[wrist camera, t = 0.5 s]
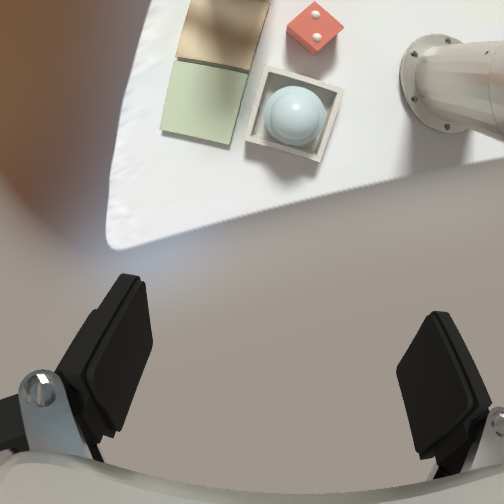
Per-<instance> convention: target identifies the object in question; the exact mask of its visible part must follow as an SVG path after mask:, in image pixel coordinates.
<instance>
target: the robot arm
mask: <svg viewBox="0 0 504 504" xmlns="http://www.w3.org/2000/svg"><path fill="white" fill-rule="evenodd" d="M445 41H446V42H445ZM411 53H412V54H413V57H412V56H411ZM400 78H401V86H402V90H403V94H404V96H405V99H406V101H407V103H408V105H409V106H410V108H411V110H412V111H413V113H414V114H415V115H416V116H417V117H418V118H419V119H420V120H421V121H422V122H423V123H425V124H426V125H428V126H429V127H431V128H433V129H435V130H438V131H441V132H445V133H458V132H462V131H465V130H467V129H471V130H473V131H476V132H479V133H481V134H484V135H486V136H489V137H491V138H493V139H496V140H498V141H500V142H503V143H504V41H488V42H472V43H462V42H461V41H459V40H458V39H455V38H453V37H451V36H448V35H444V34H430V35H426V36H423V37H421V38H418V39H417V40H416V41H414V42H413V43H412V44H411V45H410V46H409V47H408V49H407V50H406V52H405V54H404V56H403V59H402V63H401V71H400ZM412 97H413V101H412V100H411V98H412ZM444 126H445V127H444ZM152 345H153V338H152V331H151V324H150V317H149V310H148V302H147V293H146V285H145V282H144V281H141V280H140V277H139V276H135V275H130V274H124V273H123V274H121V275H120V276H119V277H118V279H117V280H116V282H115V283H114V285H113V286H112V288H111V289H110V291H109V292H108V294H107V295H106V297H105V298H104V300H103V302H102V303H101V304H100V306H99V308H98V309H95V310H93V311H92V312H91V313H90V314H89V316H88V317H87V319H86V321H85V322H84V324H83V325H82V327H81V328H80V330H79V332H78V333H77V335H76V337H75V338H74V340H73V341H72V343H71V345H70V346H69V348H68V350H67V351H66V353H65V355H64V356H63V358H62V360H61V361H60V363H59V365H58V367H57V368H56V370H55V372H52V371H50V370H44V369H42V370H36V371H34V372H32V373H29V374H28V375H27V376H26V377H25V378H24V379H23V380H22V382H21V383H20V386H19V389H18V394H16V395H13V396H10V397H7V398H4V399H1V400H0V504H504V408H503V407H495V408H493V409H492V410H491V411H489V409H488V407H489V406H490V405H491V404H492V401H491V399H490V396H489V394H488V392H487V389H486V387H485V385H484V383H483V380H482V378H481V376H480V374H479V372H478V369H477V367H476V365H475V363H474V361H473V359H472V357H471V355H470V353H469V351H468V349H467V347H466V345H465V343H464V341H463V339H462V337H461V335H460V333H459V331H458V329H457V327H456V326H455V324H454V322H453V320H452V318H451V316H450V315H449V313H447V312H440V311H433V312H431V314H430V315H428V316H426V318H425V320H424V322H423V323H422V325H421V327H420V329H419V331H418V332H417V334H416V336H415V338H414V339H413V341H412V343H411V344H410V346H409V348H408V350H407V351H406V353H405V354H404V356H403V358H402V359H401V361H400V363H399V364H398V366H397V370H396V374H397V378H398V382H399V386H400V389H401V393H402V397H403V400H404V404H405V408H406V412H407V416H408V420H409V424H410V428H411V433H412V437H413V441H414V446H415V450H416V452H417V453H419V456H420V459H421V460H423V459H429V458H433V457H434V456H435V458H436V462H435V464H434V466H433V469H432V470H431V472H430V474H429V476H428V478H427V480H426V481H425V482H420V483H415V484H410V485H404V486H398V487H391V488H385V489H376V490H368V491H357V492H345V493H328V494H327V493H326V494H280V493H261V492H247V491H237V490H228V489H220V488H213V487H206V486H199V485H194V484H189V483H183V482H178V481H174V480H169V479H164V478H160V477H155V476H150V475H146V474H143V473H139V472H135V471H131V470H127V469H124V468H120V467H117V466H114V465H110V464H107V462H106V459H105V457H104V455H103V453H102V451H101V448H100V446H99V444H98V443H100V442H101V439H102V437H103V435H105V436H108V437H111V438H114V435H115V432H116V431H118V432H120V431H121V429H122V427H123V425H124V422H125V419H126V416H127V413H128V411H129V408H130V405H131V402H132V400H133V397H134V394H135V391H136V389H137V386H138V384H139V381H140V378H141V376H142V373H143V370H144V368H145V365H146V363H147V360H148V357H149V355H150V352H151V349H152Z"/></svg>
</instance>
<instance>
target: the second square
mask: <svg viewBox="0 0 504 504" xmlns="http://www.w3.org/2000/svg"><path fill="white" fill-rule="evenodd" d="M247 78H248V74H245V73H240V72H236V71H231V70H226V69H221V68H216V67H211V66H206V65H200V64H194V63H188V62H181V61H174V63H173V68H172V72H171V76H170V81H169V85H168V90H167V94H166V99H165V104H164V109H163V114H162V119H161V124H160V130H164V131H169V132H174V133H179V134H184V135H188V136H193V137H198V138H202V139H206V140H211V141H215V142H219V143H223V144H227V145H229V144H230V142H231V138H232V134H233V130H234V126H235V122H236V118H237V115H238V111H239V107H240V103H241V100H242V96H243V92H244V89H245V85H246V82H247Z"/></svg>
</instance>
